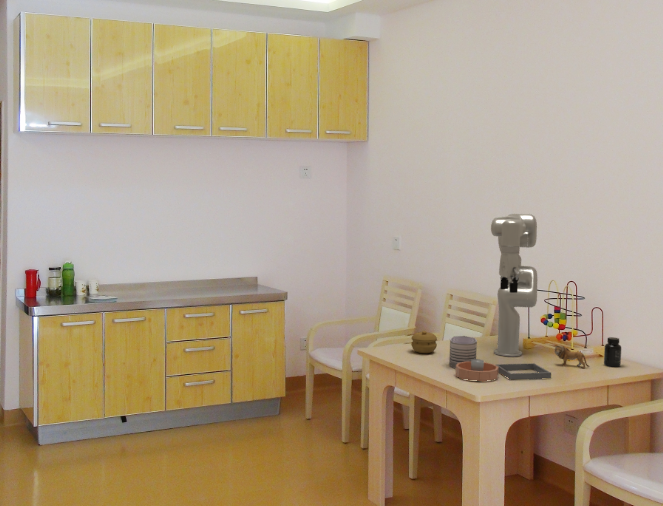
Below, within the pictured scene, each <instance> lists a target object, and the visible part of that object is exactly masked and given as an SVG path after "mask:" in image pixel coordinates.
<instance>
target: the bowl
mask: <svg viewBox="0 0 663 506" xmlns="http://www.w3.org/2000/svg"><path fill="white" fill-rule="evenodd" d="M499 375H500V373H499V367H498V366H496V365H495V364H494V363H491V362H485V361H484V370H483V371H472V370H471V361H468V362H461V363H458V364H457V365H456V368H455V377H456V378H458V377H459V378H458V379H460V378H462V379H461V380H463V379H468V380H477V381H487V380H494V379H497V378H498V379H499ZM498 379H497V380H498Z"/></svg>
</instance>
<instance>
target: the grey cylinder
mask: <svg viewBox="0 0 663 506" xmlns="http://www.w3.org/2000/svg"><path fill="white" fill-rule="evenodd" d="M484 362H485V361H484V359H480V358H476V359H472V360H471V370H472V371H483V370H484Z"/></svg>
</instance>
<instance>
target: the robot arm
mask: <svg viewBox="0 0 663 506" xmlns="http://www.w3.org/2000/svg"><path fill="white" fill-rule="evenodd" d="M536 218H537V217H535V215H533V214H530V213H511V214H508V215H505V216H501V217H494V218H493V219H492V222H491V224H490V232H491V234H492V236H493V237H497V242H498V248H499V252H500V253H501V254H500V260H499V269H498V274H499V276H500V277H499V278H500V287H499V288H498V290H497V305H498V324H497V326H498V327H497V343H496V344H497V348H495V349H493V354H494V355H496V356H497V355H498V356H502V357H520V356H522V355H523V352H522V351H521V350H519V349H520V325H521V324H520V322H521V318H520V314H519V311H518V310H517V309H516V308H517V307H518V308H533V307H535V306H536V304H537V302H538V270H537V269H536V268H535V267H534V266H531V265H530V266H529V265H522V257H521V255H520V252H521V251H520V248H526V249H527V248H534V247H535V245H536V243H537V239H538V238H537V236H538V235H537V233H538V231H537V229H538V224H537V219H536Z"/></svg>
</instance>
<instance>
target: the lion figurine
mask: <svg viewBox="0 0 663 506" xmlns="http://www.w3.org/2000/svg"><path fill="white" fill-rule="evenodd" d="M554 354H555V356H557V357H558V358H559V359H561V360H563V363H562V364H563V365H562V366H563V367H566V366H567V361H568V360H570V361H575V360H577V361H578V364H577V365H576V366H577V367H581V369H585V368H586V367H588V368H590V365H589V364H588V363H587V360H586V356H585V354H584V353H583V352H581V351H571V350H570V348H568V347H565V346H564V345H562V344H557V345H555V346H554ZM581 365H582V366H581Z"/></svg>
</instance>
